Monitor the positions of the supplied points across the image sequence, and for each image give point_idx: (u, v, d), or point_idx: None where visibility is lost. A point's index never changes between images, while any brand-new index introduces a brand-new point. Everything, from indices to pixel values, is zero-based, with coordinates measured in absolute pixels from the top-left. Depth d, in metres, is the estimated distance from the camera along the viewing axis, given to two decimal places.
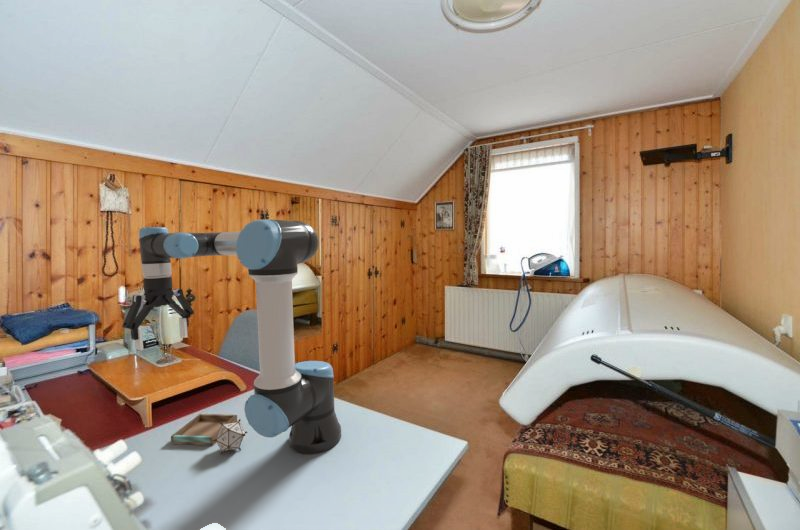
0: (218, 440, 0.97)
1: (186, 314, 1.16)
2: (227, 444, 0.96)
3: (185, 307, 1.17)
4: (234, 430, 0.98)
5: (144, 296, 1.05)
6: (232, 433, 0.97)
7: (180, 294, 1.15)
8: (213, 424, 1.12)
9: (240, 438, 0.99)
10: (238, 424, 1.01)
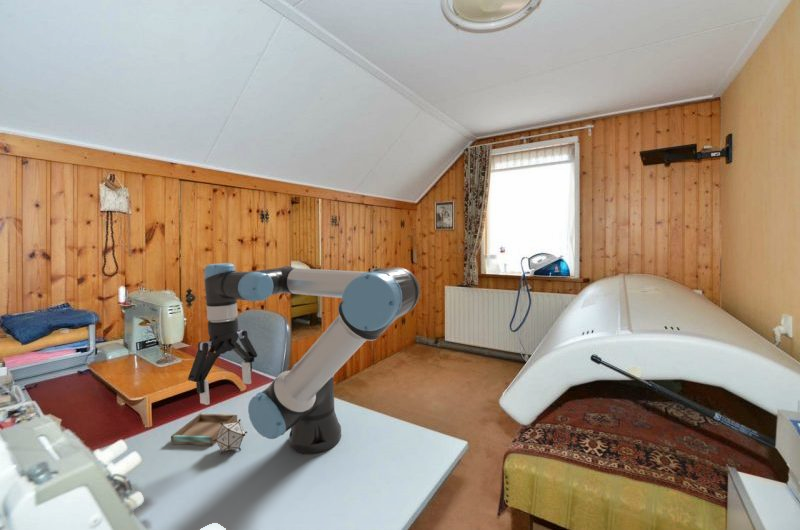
0: (218, 440, 0.97)
1: (250, 358, 1.04)
2: (227, 444, 0.96)
3: (248, 350, 1.05)
4: (234, 430, 0.98)
5: (210, 343, 0.93)
6: (232, 433, 0.97)
7: (244, 336, 1.02)
8: (213, 424, 1.12)
9: (240, 438, 0.99)
10: (238, 424, 1.01)
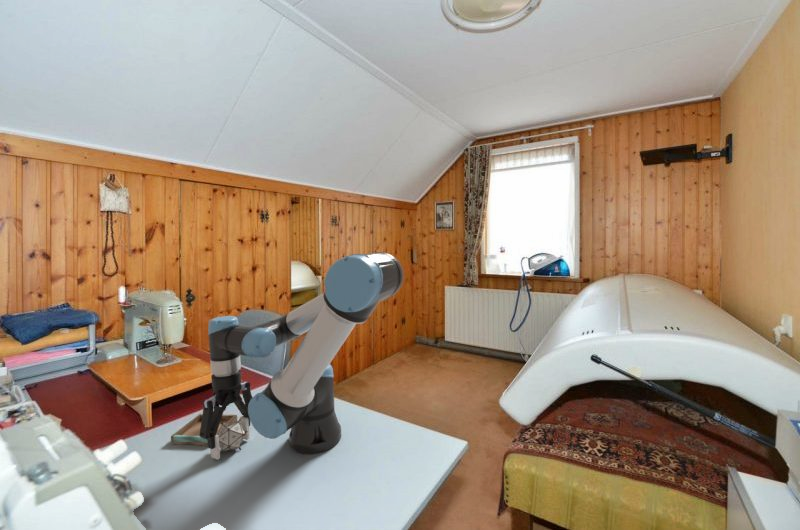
0: None
1: None
2: (227, 444, 0.96)
3: (248, 403, 1.05)
4: (234, 429, 0.98)
5: (214, 398, 0.94)
6: (232, 433, 0.98)
7: (247, 388, 1.03)
8: None
9: (240, 438, 0.99)
10: (238, 424, 1.01)
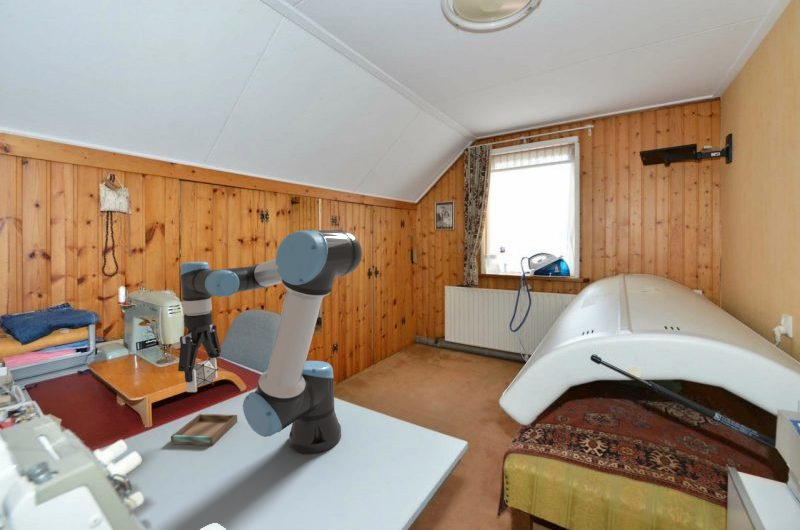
0: None
1: (216, 353, 1.13)
2: (203, 378, 1.05)
3: (214, 345, 1.13)
4: (207, 365, 1.07)
5: (190, 335, 1.02)
6: (207, 368, 1.06)
7: (214, 330, 1.12)
8: (213, 424, 1.12)
9: (214, 372, 1.08)
10: (209, 362, 1.09)
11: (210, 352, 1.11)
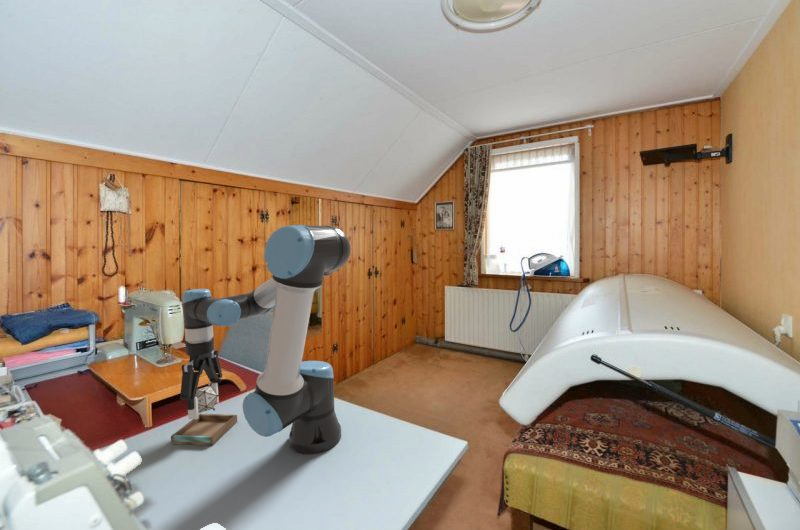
0: None
1: (217, 378, 1.14)
2: (204, 405, 1.05)
3: (216, 370, 1.14)
4: (209, 392, 1.08)
5: (192, 363, 1.03)
6: (208, 395, 1.07)
7: (216, 356, 1.13)
8: (213, 424, 1.12)
9: (215, 399, 1.08)
10: (210, 387, 1.10)
11: (211, 377, 1.12)
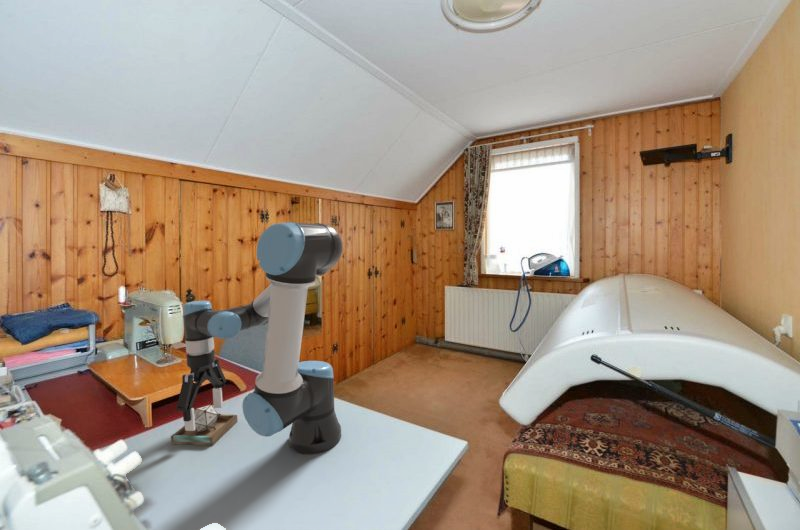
0: (195, 422, 1.05)
1: (221, 384, 1.15)
2: (205, 424, 1.05)
3: (219, 376, 1.16)
4: (210, 411, 1.08)
5: (193, 374, 1.03)
6: (209, 414, 1.07)
7: (217, 365, 1.13)
8: None
9: (216, 418, 1.08)
10: (211, 406, 1.10)
11: (215, 384, 1.14)
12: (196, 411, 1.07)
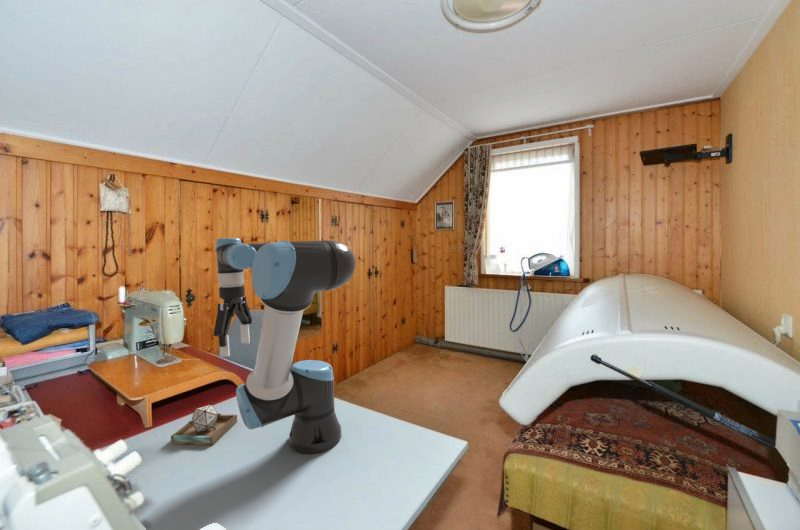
0: (195, 422, 1.05)
1: (248, 321, 1.22)
2: (205, 424, 1.05)
3: (246, 314, 1.22)
4: (210, 411, 1.08)
5: (227, 304, 1.10)
6: (209, 414, 1.07)
7: (245, 301, 1.20)
8: None
9: (216, 418, 1.08)
10: (211, 406, 1.10)
11: (243, 320, 1.21)
12: (196, 411, 1.07)
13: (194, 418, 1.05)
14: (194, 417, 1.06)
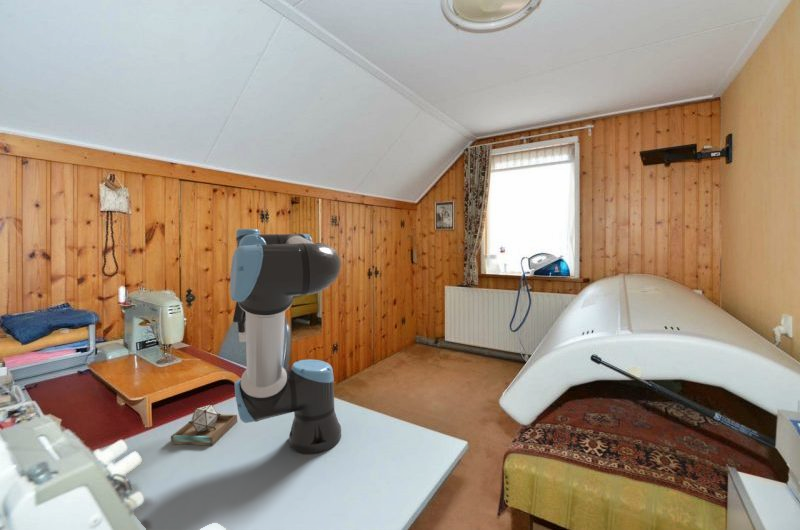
0: (195, 422, 1.05)
1: None
2: (205, 424, 1.05)
3: None
4: (210, 411, 1.08)
5: None
6: (209, 414, 1.07)
7: None
8: None
9: (216, 418, 1.08)
10: (211, 406, 1.10)
11: None
12: (196, 411, 1.07)
13: (194, 418, 1.05)
14: (194, 417, 1.06)
